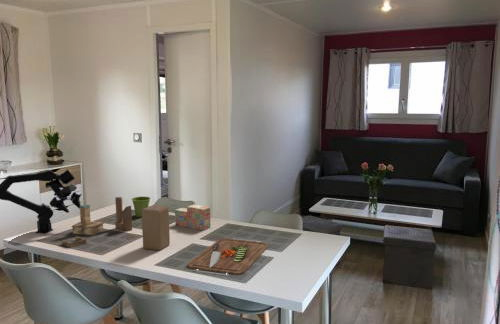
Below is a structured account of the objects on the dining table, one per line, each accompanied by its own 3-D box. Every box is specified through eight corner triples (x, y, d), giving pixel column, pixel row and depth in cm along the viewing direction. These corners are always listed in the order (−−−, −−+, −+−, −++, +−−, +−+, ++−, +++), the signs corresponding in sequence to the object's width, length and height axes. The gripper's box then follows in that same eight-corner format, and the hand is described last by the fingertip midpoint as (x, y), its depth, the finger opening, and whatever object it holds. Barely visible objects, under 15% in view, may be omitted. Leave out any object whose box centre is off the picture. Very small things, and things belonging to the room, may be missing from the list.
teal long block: (80, 225, 230) (79, 206, 228) (85, 223, 233) (84, 204, 231) (86, 226, 228) (84, 206, 227) (90, 224, 232) (89, 205, 230)
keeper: (61, 244, 212) (61, 240, 212) (77, 240, 219) (77, 236, 219) (70, 247, 207) (70, 243, 207) (86, 243, 214) (86, 239, 214)
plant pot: (128, 217, 262) (128, 200, 260) (137, 213, 274) (136, 196, 272) (146, 218, 260) (146, 200, 258) (154, 213, 272) (153, 196, 270)
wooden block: (170, 244, 211) (169, 206, 208) (160, 251, 201) (158, 210, 199) (153, 242, 214) (151, 204, 211) (142, 249, 205) (140, 209, 202)
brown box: (71, 234, 229) (70, 226, 228) (82, 228, 239) (81, 221, 238) (93, 235, 226) (93, 227, 226) (104, 230, 236) (103, 222, 236)
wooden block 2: (127, 231, 233) (125, 200, 231) (115, 228, 240) (113, 197, 237) (132, 229, 236) (131, 198, 234) (120, 226, 243) (119, 196, 240)
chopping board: (240, 279, 170) (240, 271, 169) (181, 270, 179) (181, 264, 178) (271, 244, 212) (271, 238, 212) (222, 239, 221) (222, 233, 220)
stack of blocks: (175, 225, 245) (174, 204, 244) (182, 222, 251) (181, 202, 249) (204, 230, 235) (203, 209, 233) (210, 227, 240) (210, 206, 238)
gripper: (52, 182, 223) (69, 205, 221) (78, 177, 240) (94, 198, 238) (42, 195, 227) (58, 217, 225) (68, 189, 244) (84, 209, 242)
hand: (74, 210), depth 232 cm, fingers open, 9 cm apart
